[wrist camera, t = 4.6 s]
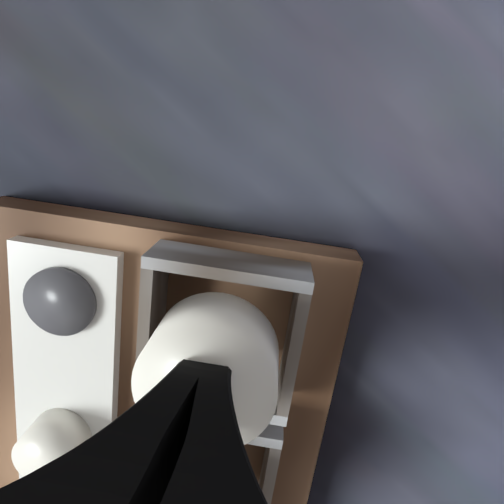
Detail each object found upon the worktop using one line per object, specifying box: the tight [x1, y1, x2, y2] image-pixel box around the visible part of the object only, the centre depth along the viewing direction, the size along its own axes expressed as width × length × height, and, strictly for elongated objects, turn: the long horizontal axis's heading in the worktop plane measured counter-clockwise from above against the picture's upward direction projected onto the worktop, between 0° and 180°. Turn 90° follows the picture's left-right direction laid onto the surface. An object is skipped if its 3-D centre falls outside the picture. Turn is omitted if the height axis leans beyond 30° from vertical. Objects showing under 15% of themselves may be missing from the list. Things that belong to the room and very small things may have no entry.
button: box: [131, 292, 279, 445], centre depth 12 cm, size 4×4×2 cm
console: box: [0, 196, 363, 504], centre depth 17 cm, size 14×18×4 cm
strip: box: [7, 235, 124, 479], centre depth 16 cm, size 4×16×2 cm, turn 172°
